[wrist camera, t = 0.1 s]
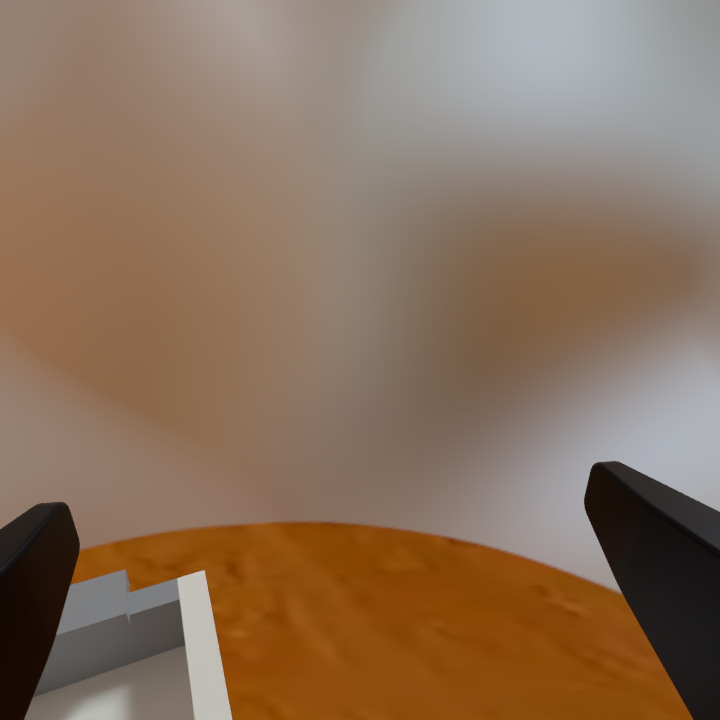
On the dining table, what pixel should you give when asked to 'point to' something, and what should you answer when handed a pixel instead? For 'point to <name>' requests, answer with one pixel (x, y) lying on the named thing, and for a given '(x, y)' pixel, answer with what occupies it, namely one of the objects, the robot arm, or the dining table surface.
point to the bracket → (134, 654)
